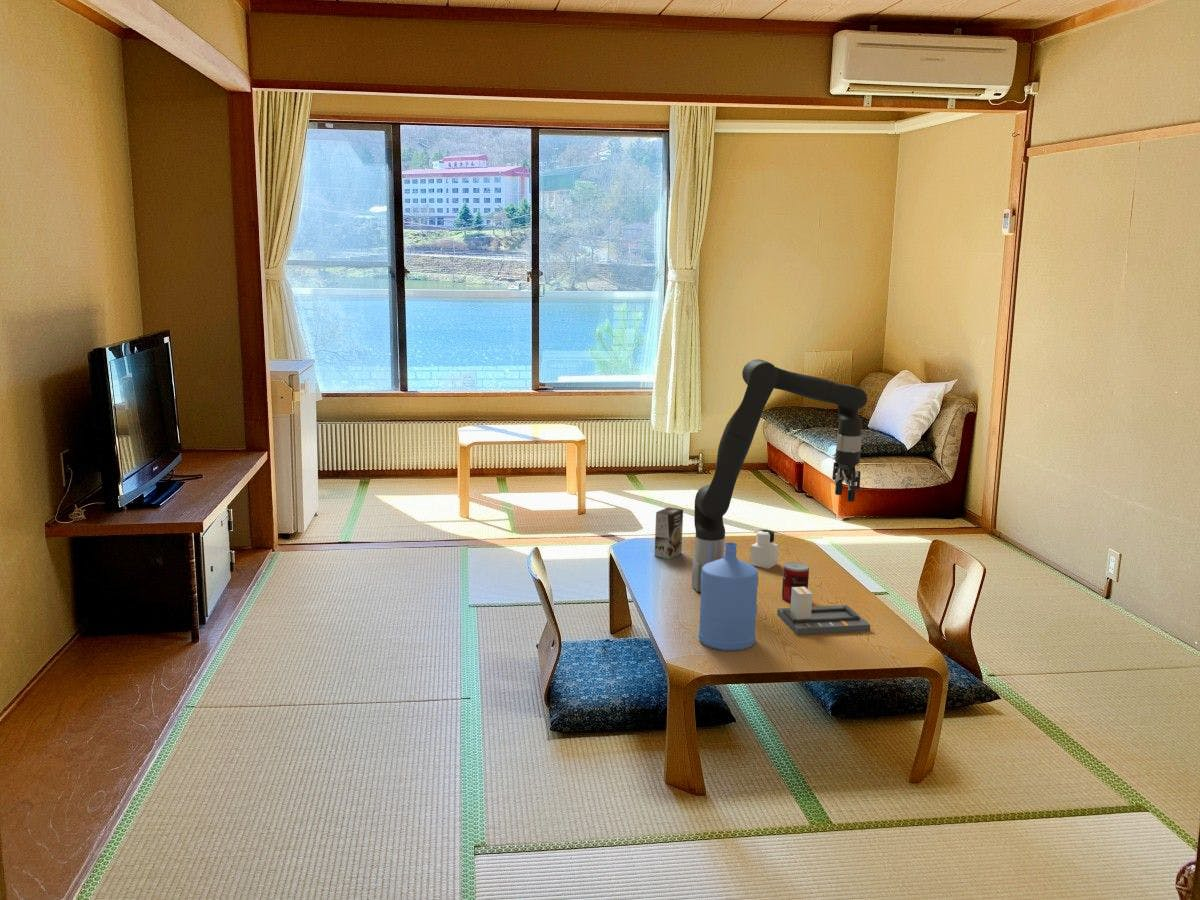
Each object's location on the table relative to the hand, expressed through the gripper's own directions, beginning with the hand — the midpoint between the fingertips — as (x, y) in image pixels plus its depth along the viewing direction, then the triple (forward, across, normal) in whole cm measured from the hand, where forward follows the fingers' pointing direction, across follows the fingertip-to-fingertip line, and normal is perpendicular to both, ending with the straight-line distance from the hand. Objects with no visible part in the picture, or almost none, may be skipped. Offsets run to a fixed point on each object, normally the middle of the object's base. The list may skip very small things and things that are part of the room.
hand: (844, 498), depth 323 cm
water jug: (+29, +39, -53) cm, 72 cm away
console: (+29, +31, -20) cm, 47 cm away
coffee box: (+29, -39, -46) cm, 67 cm away
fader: (+26, +31, -27) cm, 49 cm away
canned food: (+29, +11, -20) cm, 37 cm away
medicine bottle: (+29, -23, -17) cm, 40 cm away
